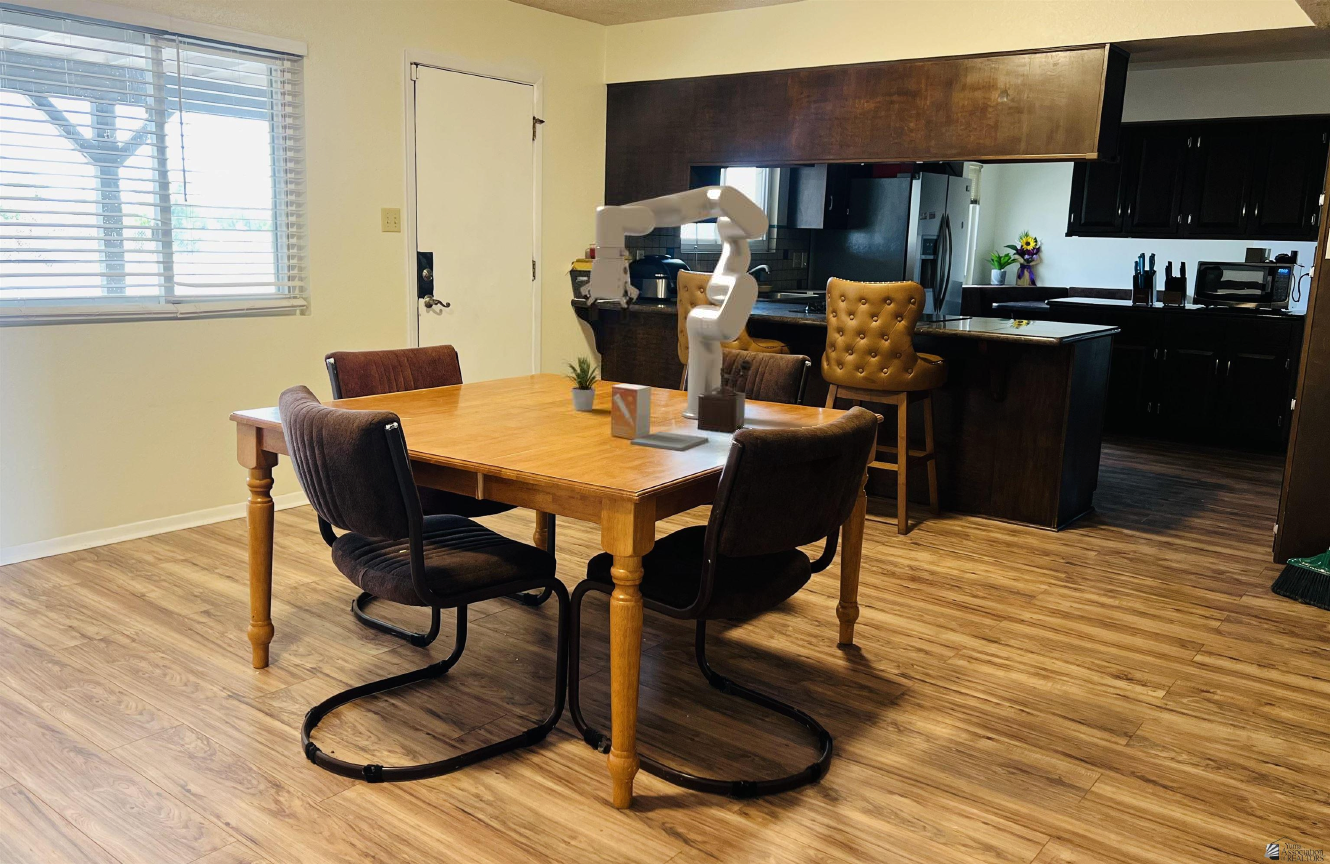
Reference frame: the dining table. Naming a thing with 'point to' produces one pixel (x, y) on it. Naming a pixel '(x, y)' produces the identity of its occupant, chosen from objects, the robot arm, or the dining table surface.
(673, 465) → the dining table surface
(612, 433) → the small box
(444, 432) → the dining table surface
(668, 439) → the mat
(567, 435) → the dining table surface
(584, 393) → the house plant
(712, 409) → the manual coffee grinder
